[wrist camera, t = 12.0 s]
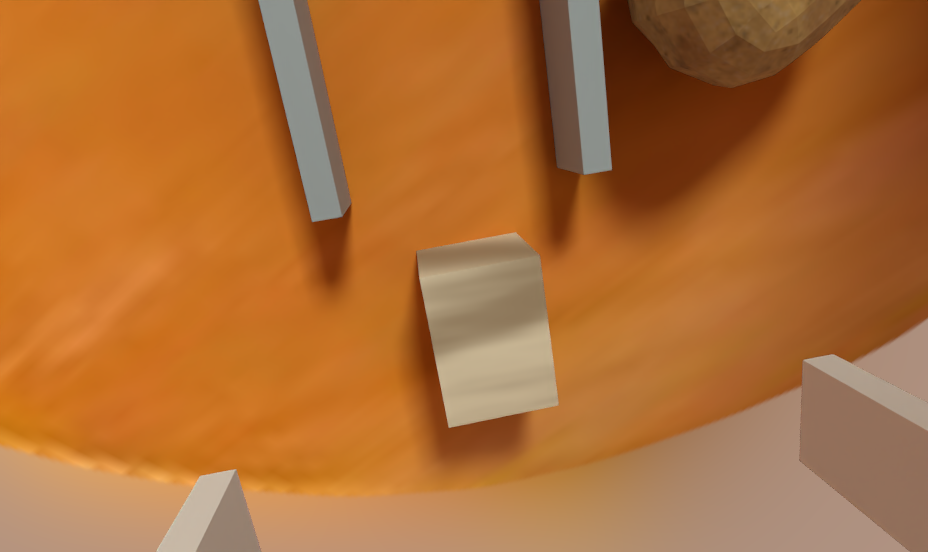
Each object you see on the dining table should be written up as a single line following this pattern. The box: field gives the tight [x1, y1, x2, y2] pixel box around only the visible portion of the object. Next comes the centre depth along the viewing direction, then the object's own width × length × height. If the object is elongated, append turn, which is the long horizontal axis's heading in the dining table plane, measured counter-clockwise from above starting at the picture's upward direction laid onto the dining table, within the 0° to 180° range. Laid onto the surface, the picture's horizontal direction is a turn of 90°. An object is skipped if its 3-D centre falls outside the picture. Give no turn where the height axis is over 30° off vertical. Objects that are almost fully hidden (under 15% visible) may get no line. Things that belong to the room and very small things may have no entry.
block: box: [416, 232, 559, 428], centre depth 25 cm, size 5×5×7 cm
